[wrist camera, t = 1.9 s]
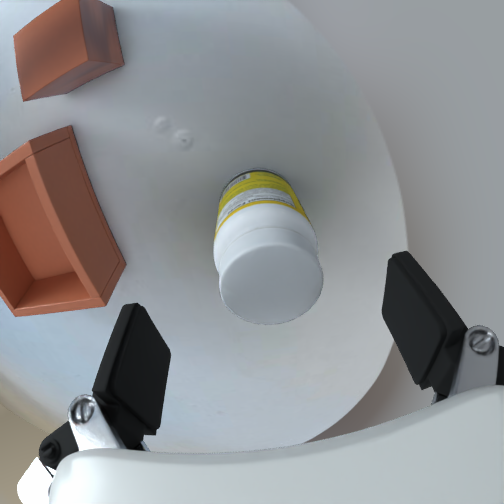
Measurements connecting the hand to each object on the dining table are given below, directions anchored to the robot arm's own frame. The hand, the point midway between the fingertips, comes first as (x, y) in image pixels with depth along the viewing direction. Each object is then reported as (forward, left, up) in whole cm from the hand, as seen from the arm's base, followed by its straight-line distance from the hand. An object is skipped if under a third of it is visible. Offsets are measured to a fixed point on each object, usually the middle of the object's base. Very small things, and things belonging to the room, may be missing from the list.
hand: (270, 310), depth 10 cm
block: (-13, -8, -9) cm, 18 cm away
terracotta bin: (-3, -16, -9) cm, 19 cm away
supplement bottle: (0, 0, -9) cm, 9 cm away
